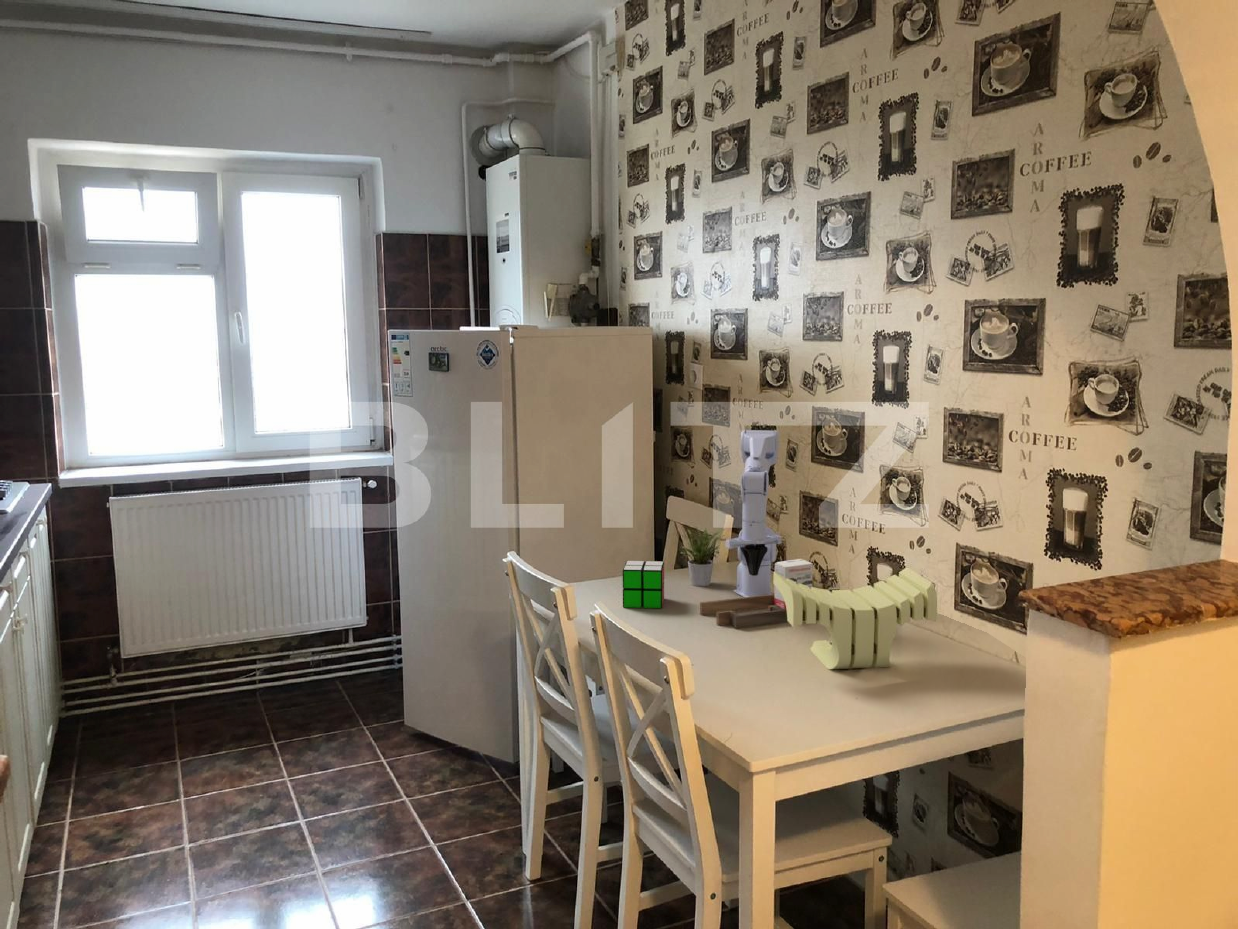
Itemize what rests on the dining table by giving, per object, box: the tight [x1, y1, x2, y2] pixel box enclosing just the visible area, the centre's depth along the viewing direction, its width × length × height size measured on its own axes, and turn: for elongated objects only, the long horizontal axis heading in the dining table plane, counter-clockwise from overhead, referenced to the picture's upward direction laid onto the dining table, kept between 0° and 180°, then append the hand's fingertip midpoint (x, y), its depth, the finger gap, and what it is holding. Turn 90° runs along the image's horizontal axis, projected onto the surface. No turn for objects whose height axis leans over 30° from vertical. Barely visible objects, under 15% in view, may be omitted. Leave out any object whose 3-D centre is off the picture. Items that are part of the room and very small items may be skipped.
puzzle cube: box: [622, 560, 665, 610], centre depth 253 cm, size 10×10×10 cm
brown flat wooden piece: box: [699, 593, 789, 630], centre depth 242 cm, size 14×31×3 cm, turn 111°
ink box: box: [773, 558, 814, 609], centre depth 248 cm, size 8×5×12 cm, turn 117°
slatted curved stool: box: [773, 567, 938, 670], centre depth 208 cm, size 30×16×18 cm, turn 96°
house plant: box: [677, 525, 727, 587], centre depth 271 cm, size 14×14×16 cm
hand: (753, 574), depth 242 cm, fingers closed
